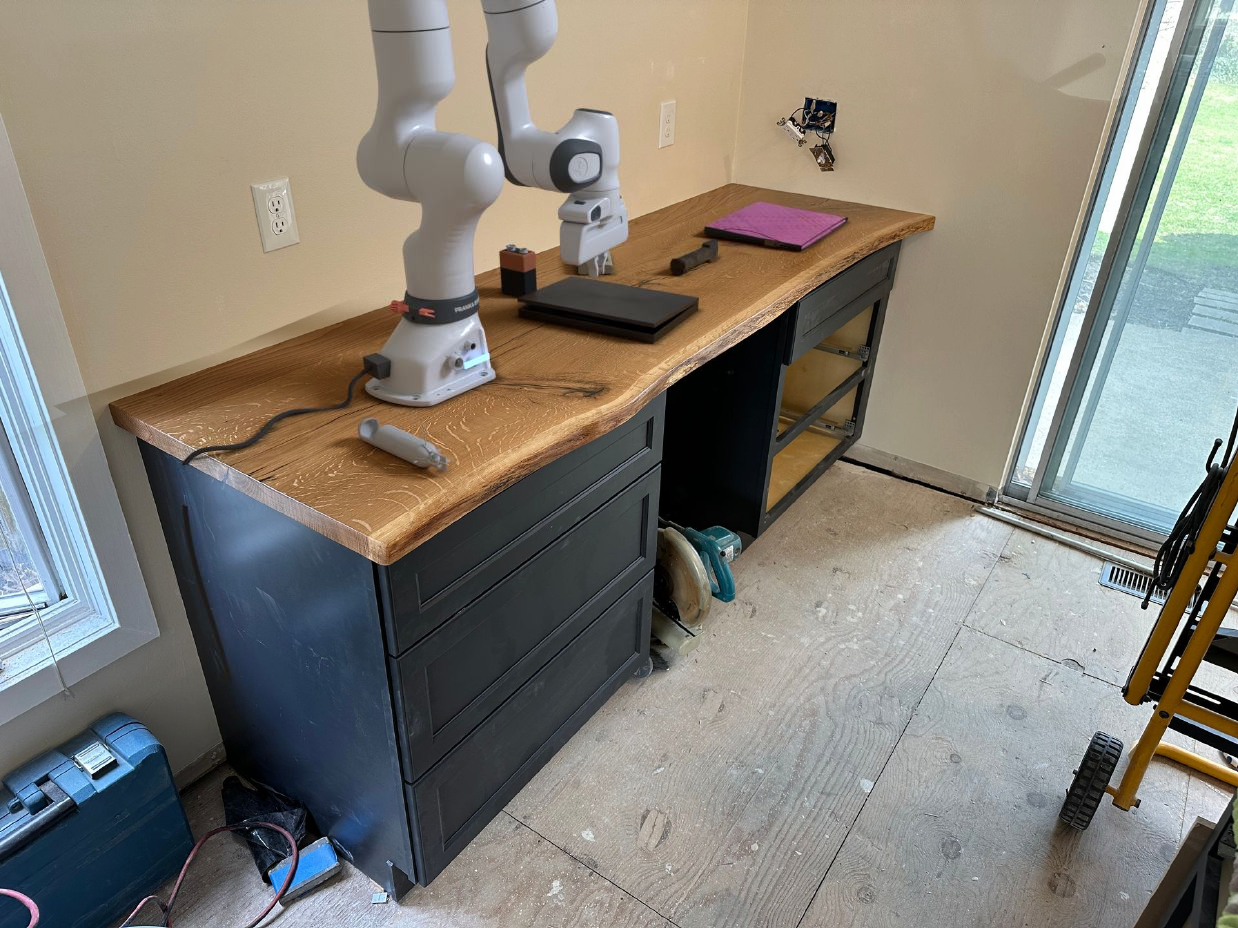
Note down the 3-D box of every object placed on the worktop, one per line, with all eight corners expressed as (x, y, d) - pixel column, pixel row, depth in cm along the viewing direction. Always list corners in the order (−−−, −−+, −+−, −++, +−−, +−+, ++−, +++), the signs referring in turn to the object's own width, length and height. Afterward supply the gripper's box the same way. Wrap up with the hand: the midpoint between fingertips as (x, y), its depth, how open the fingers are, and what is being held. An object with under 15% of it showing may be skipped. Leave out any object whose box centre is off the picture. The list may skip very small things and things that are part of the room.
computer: (613, 274, 197) (613, 260, 195) (578, 275, 197) (578, 260, 195) (609, 255, 211) (609, 241, 209) (576, 255, 210) (575, 242, 209)
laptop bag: (758, 195, 251) (849, 209, 239) (757, 209, 253) (847, 224, 241) (696, 223, 221) (797, 241, 209) (695, 239, 223) (795, 257, 211)
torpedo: (350, 443, 126) (343, 403, 122) (376, 431, 129) (370, 392, 126) (434, 482, 116) (429, 439, 113) (460, 469, 119) (456, 426, 116)
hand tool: (683, 277, 196) (684, 257, 193) (669, 274, 198) (669, 254, 195) (726, 259, 209) (728, 239, 206) (712, 256, 211) (714, 237, 209)
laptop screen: (654, 328, 159) (654, 323, 158) (517, 302, 171) (517, 298, 170) (698, 301, 176) (699, 297, 175) (571, 280, 188) (571, 275, 187)
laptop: (653, 344, 160) (653, 334, 159) (518, 317, 172) (517, 308, 171) (698, 310, 176) (698, 301, 176) (571, 288, 189) (571, 279, 188)
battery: (513, 287, 188) (511, 242, 184) (538, 293, 185) (536, 247, 180) (500, 292, 185) (497, 246, 180) (524, 299, 182) (522, 251, 177)
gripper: (607, 189, 168) (607, 259, 175) (552, 212, 153) (555, 288, 159) (636, 193, 166) (635, 264, 173) (583, 216, 150) (584, 293, 157)
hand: (596, 275), depth 166 cm, fingers closed
